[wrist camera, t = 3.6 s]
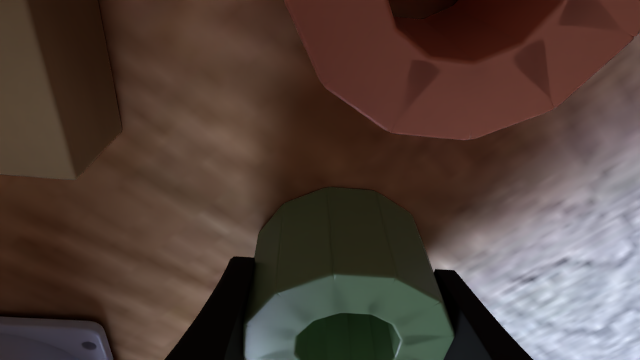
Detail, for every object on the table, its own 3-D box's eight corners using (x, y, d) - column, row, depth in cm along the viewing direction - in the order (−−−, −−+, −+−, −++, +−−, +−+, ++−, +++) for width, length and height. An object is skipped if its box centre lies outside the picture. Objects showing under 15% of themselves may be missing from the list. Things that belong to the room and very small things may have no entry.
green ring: (400, 310, 15) (422, 404, 12) (256, 302, 14) (242, 398, 11) (439, 194, 12) (482, 282, 9) (259, 180, 11) (242, 267, 8)
